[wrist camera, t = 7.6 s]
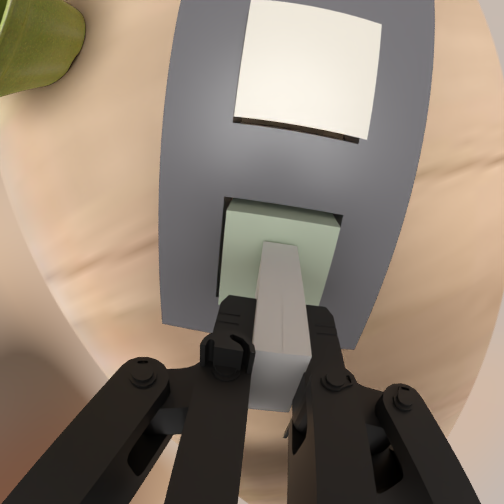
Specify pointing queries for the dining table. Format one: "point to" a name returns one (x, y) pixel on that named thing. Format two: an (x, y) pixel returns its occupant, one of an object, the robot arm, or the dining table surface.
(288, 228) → the sage key
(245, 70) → the cream key
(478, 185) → the dining table surface
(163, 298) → the keypad
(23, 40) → the plant pot
